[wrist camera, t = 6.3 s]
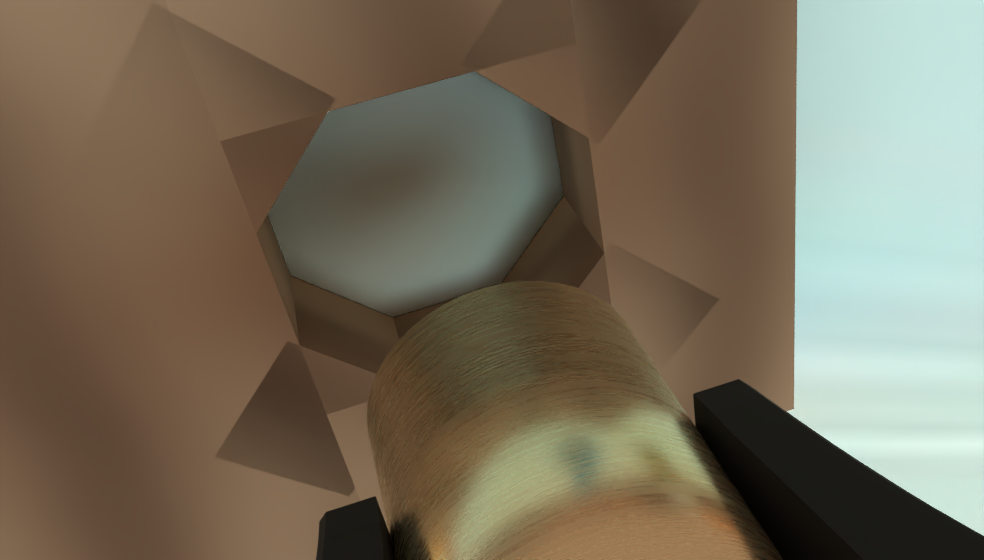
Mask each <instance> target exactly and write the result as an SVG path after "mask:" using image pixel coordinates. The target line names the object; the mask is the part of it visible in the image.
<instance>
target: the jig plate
mask: <svg viewBox="0 0 984 560" xmlns="http://www.w3.org/2000/svg"><path fill="white" fill-rule="evenodd" d="M796 59H797V0H0V560H316V556H317V547H318V535H319V521H320V520H321V518H322V517H323V516H324V514H325V513H326V512H327V511H331V510H334V509H337V508H340V507H343V506H346V505H349V504H352V503H355V502H358V501H362V500H365V499H368V498H371V497H374V496H376V498H377V501H378V504H379V507H380V509H381V512H382V515H383V517H384V520H385V523H386V525H387V521H386V516H385V511H384V506H383V502H382V497H381V492H380V487H379V483H378V478H377V473H376V468H375V463H374V459H373V454H372V449H371V444H370V439H369V435H368V428H367V406H368V399H369V395H370V391H371V387H372V384H373V382H374V379H375V377H376V374H377V372H378V370H379V368H380V366H381V365H382V363H383V361H384V360H385V358H386V356H387V355H388V353H389V352H390V351H391V349H392V348H393V347H394V346H395V344H396V343H397V342H398V341H399V339H400V338H401V337H402V336H403V335H404V334H405V333H406V332H407V331H408V330H409V329H410V328H411V327H413V326H414V325H415V324H416V323H418V322H419V321H420V320H421V319H423V318H424V317H425V316H426V315H428V314H429V313H431V312H432V311H434V310H436V309H437V308H439V307H440V306H442V305H444V304H445V303H447V302H449V301H447V302H444V303H441V304H437V305H434V306H431V307H427V308H424V309H421V310H417V311H414V312H411V313H408V314H404V315H401V316H398V317H394V318H392V317H390V316H387V315H385V314H382V313H380V312H377V311H375V310H372V309H370V308H367V307H365V306H363V305H360V304H358V303H355V302H353V301H350V300H348V299H345V298H343V297H340V296H338V295H336V294H333V293H331V292H328V291H326V290H323V289H321V288H318V287H316V286H314V285H311V284H309V283H306V282H304V281H301V280H299V279H296V278H294V277H291V276H290V273H289V271H288V268H287V265H286V263H285V260H284V257H283V255H282V252H281V249H280V247H279V244H278V241H277V239H276V236H275V233H274V231H273V228H272V225H271V223H270V220H269V217H268V215H267V214H268V213H269V211H270V209H271V208H272V206H273V204H274V202H275V201H276V199H277V197H278V196H279V194H280V192H281V191H282V189H283V187H284V185H285V184H286V182H287V180H288V179H289V177H290V175H291V173H292V172H293V170H294V168H295V167H296V165H297V163H298V162H299V160H300V158H301V156H302V155H303V153H304V151H305V150H306V148H307V146H308V144H309V143H310V141H311V139H312V138H313V136H314V134H315V132H316V131H317V129H318V127H319V126H320V124H321V122H322V121H323V119H324V117H325V115H326V114H327V112H328V111H331V110H335V109H339V108H342V107H346V106H350V105H353V104H357V103H361V102H364V101H368V100H371V99H375V98H379V97H382V96H386V95H390V94H393V93H397V92H400V91H404V90H408V89H411V88H415V87H419V86H422V85H426V84H430V83H433V82H437V81H440V80H444V79H448V78H451V77H455V76H459V75H462V74H466V73H469V72H473V71H475V72H477V73H479V74H481V75H482V76H484V77H486V78H487V79H489V80H491V81H492V82H494V83H496V84H498V85H499V86H501V87H503V88H504V89H506V90H508V91H510V92H511V93H513V94H515V95H516V96H518V97H520V98H521V99H523V100H525V101H527V102H528V103H530V104H532V105H533V106H535V107H537V108H538V109H540V110H542V111H544V112H545V113H547V114H549V115H550V116H551V119H552V125H553V131H554V138H555V144H556V150H557V157H558V163H559V169H560V176H561V182H562V188H563V194H564V196H563V198H562V199H561V200H560V202H559V203H558V205H557V206H556V207H555V209H554V210H553V212H552V213H551V214H550V216H549V217H548V219H547V220H546V221H545V223H544V224H543V226H542V227H541V229H540V230H539V231H538V233H537V234H536V236H535V237H534V238H533V240H532V241H531V243H530V244H529V245H528V247H527V248H526V250H525V251H524V252H523V254H522V255H521V257H520V258H519V259H518V261H517V262H516V264H515V265H514V266H513V268H512V269H511V271H510V272H509V274H508V275H507V276H506V278H505V279H504V281H503V282H502V283H508V282H516V281H548V282H557V283H562V284H566V285H570V286H574V287H577V288H580V289H582V290H585V291H587V292H590V293H592V294H593V295H595V296H597V297H599V298H600V299H602V300H604V301H605V302H606V303H608V304H609V305H610V306H611V307H612V308H614V309H615V310H616V311H617V312H618V313H619V314H620V316H621V317H622V318H623V319H624V320H625V321H626V323H627V324H628V326H629V327H630V329H631V330H632V332H633V333H634V335H635V336H636V338H637V339H638V341H639V342H640V344H641V345H642V347H643V348H644V350H645V351H646V353H647V354H648V356H649V357H650V359H651V361H652V362H653V364H654V365H655V367H656V368H657V370H658V371H659V373H660V374H661V376H662V377H663V379H664V380H665V382H666V383H667V385H668V386H669V388H670V389H671V391H672V392H673V394H674V395H675V397H676V398H677V400H678V401H679V403H680V404H681V406H682V407H683V409H684V410H685V412H686V413H687V415H688V416H689V418H690V419H691V421H692V422H693V424H694V425H695V414H694V400H693V394H694V393H697V392H700V391H703V390H706V389H709V388H712V387H715V386H719V385H722V384H725V383H728V382H731V381H734V380H737V379H740V380H741V381H743V382H745V383H747V384H748V385H750V386H751V387H752V388H754V389H755V390H757V391H758V392H759V393H761V394H762V395H764V396H765V397H767V398H768V399H769V400H771V401H772V402H774V403H775V404H776V405H778V406H779V407H781V408H782V409H783V410H785V411H788V410H791V409H794V309H795V184H796ZM450 301H451V300H450ZM387 528H388V526H387ZM388 531H389V530H388Z"/></svg>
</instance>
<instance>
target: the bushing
mask: <svg viewBox="0 0 984 560" xmlns="http://www.w3.org/2000/svg"><path fill="white" fill-rule="evenodd" d="M367 428H368V435H369V439H370V444H371V449H372V454H373V459H374V463H375V468H376V473H377V478H378V483H379V487H380V492H381V497H382V502H383V506H384V511H385V516H386V521H387V526H388V530H389V533H390V538H391V542H392V547H393V552H394V557H395V560H783V558H782V557H781V555H780V554H779V552H778V550H777V549H776V547H775V546H774V544H773V543H772V541H771V540H770V538H769V537H768V535H767V534H766V532H765V531H764V529H763V528H762V526H761V525H760V523H759V522H758V520H757V519H756V517H755V516H754V514H753V513H752V511H751V510H750V508H749V507H748V505H747V504H746V502H745V501H744V499H743V498H742V496H741V495H740V493H739V492H738V490H737V489H736V487H735V486H734V484H733V483H732V481H731V480H730V478H729V477H728V475H727V474H726V472H725V471H724V469H723V468H722V466H721V465H720V463H719V462H718V460H717V459H716V457H715V456H714V454H713V452H712V451H711V449H710V448H709V446H708V445H707V443H706V442H705V440H704V439H703V437H702V436H701V434H700V433H699V431H698V430H697V428H696V427H695V425H694V424H693V422H692V421H691V419H690V418H689V416H688V415H687V413H686V412H685V410H684V409H683V407H682V406H681V404H680V403H679V401H678V400H677V398H676V397H675V395H674V394H673V392H672V391H671V389H670V388H669V386H668V385H667V383H666V382H665V380H664V379H663V377H662V376H661V374H660V373H659V371H658V370H657V368H656V367H655V365H654V364H653V362H652V361H651V359H650V357H649V356H648V354H647V353H646V351H645V350H644V348H643V347H642V345H641V344H640V342H639V341H638V339H637V338H636V336H635V335H634V333H633V332H632V330H631V329H630V327H629V326H628V324H627V323H626V321H625V320H624V319H623V318H622V317H621V316H620V314H619V313H618V312H617V311H616V310H615V309H614V308H612V307H611V306H610V305H609V304H608V303H606V302H605V301H604V300H602V299H600V298H599V297H597V296H595V295H593V294H592V293H590V292H587V291H585V290H582V289H580V288H577V287H574V286H570V285H566V284H562V283H557V282H548V281H516V282H508V283H501V284H497V285H492V286H488V287H484V288H481V289H478V290H475V291H472V292H470V293H467V294H464V295H462V296H460V297H458V298H456V299H453V300H451V301H449V302H447V303H445V304H444V305H442V306H440V307H439V308H437V309H436V310H434V311H432V312H431V313H429V314H428V315H426V316H425V317H424V318H423V319H421V320H420V321H419V322H418V323H416V324H415V325H414V326H413V327H411V328H410V329H409V330H408V331H407V332H406V333H405V334H404V335H403V336H402V337H401V338H400V339H399V341H398V342H397V343H396V344H395V346H394V347H393V348H392V349H391V351H390V352H389V353H388V355H387V356H386V358H385V360H384V361H383V363H382V365H381V366H380V368H379V370H378V372H377V374H376V377H375V379H374V382H373V384H372V387H371V391H370V395H369V399H368V406H367Z"/></svg>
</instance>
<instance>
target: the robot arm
mask: <svg viewBox="0 0 984 560" xmlns="http://www.w3.org/2000/svg"><path fill="white" fill-rule="evenodd" d="M693 400H694V414H695V427H696V428H697V430H698V431H699V433H700V434H701V436H702V437H703V439H704V440H705V442H706V443H707V445H708V446H709V448H710V449H711V451H712V452H713V454H714V456H715V457H716V459H717V460H718V462H719V463H720V465H721V466H722V468H723V469H724V471H725V472H726V474H727V475H728V477H729V478H730V480H731V481H732V483H733V484H734V486H735V487H736V489H737V490H738V492H739V493H740V495H741V496H742V498H743V499H744V501H745V502H746V504H747V505H748V507H749V508H750V510H751V511H752V513H753V514H754V516H755V517H756V519H757V520H758V522H759V523H760V525H761V526H762V528H763V529H764V531H765V532H766V534H767V535H768V537H769V538H770V540H771V541H772V543H773V544H774V546H775V547H776V549H777V550H778V552H779V554H780V555H781V557H782V558H783V560H984V536H983V535H981V534H979V533H977V532H975V531H974V530H972V529H970V528H968V527H967V526H965V525H963V524H961V523H960V522H958V521H956V520H954V519H953V518H951V517H949V516H947V515H946V514H944V513H942V512H941V511H939V510H937V509H935V508H934V507H932V506H930V505H929V504H927V503H925V502H924V501H922V500H920V499H919V498H917V497H915V496H914V495H912V494H910V493H909V492H907V491H905V490H904V489H902V488H901V487H899V486H897V485H896V484H894V483H893V482H891V481H890V480H888V479H886V478H885V477H883V476H882V475H880V474H879V473H877V472H875V471H874V470H872V469H871V468H869V467H868V466H866V465H864V464H863V463H861V462H860V461H858V460H857V459H855V458H854V457H852V456H851V455H849V454H847V453H846V452H844V451H843V450H841V449H840V448H838V447H837V446H835V445H834V444H832V443H831V442H830V441H828V440H827V439H825V438H824V437H822V436H821V435H819V434H818V433H816V432H815V431H813V430H812V429H811V428H809V427H808V426H806V425H805V424H803V423H802V422H800V421H799V420H798V419H796V418H795V417H793V416H792V415H790V414H789V413H788V412H786V411H785V410H783V409H782V408H781V407H779V406H778V405H776V404H775V403H774V402H772V401H771V400H769V399H768V398H767V397H765V396H764V395H762V394H761V393H759V392H758V391H757V390H755V389H754V388H752V387H751V386H750V385H748V384H747V383H745V382H743V381H741V380H740V379H737V380H734V381H731V382H728V383H725V384H722V385H719V386H715V387H712V388H709V389H706V390H703V391H700V392H697V393H694V394H693ZM316 560H395V557H394V552H393V547H392V542H391V538H390V533H389V531H388V528H387V525H386V523H385V520H384V517H383V515H382V512H381V509H380V507H379V504H378V501H377V498H376V496H374V497H371V498H368V499H365V500H362V501H358V502H355V503H352V504H349V505H346V506H343V507H340V508H337V509H334V510H331V511H327V512H326V513H325V514H324V516H323V517H322V518H321V520H320V521H319V535H318V547H317V556H316Z"/></svg>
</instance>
